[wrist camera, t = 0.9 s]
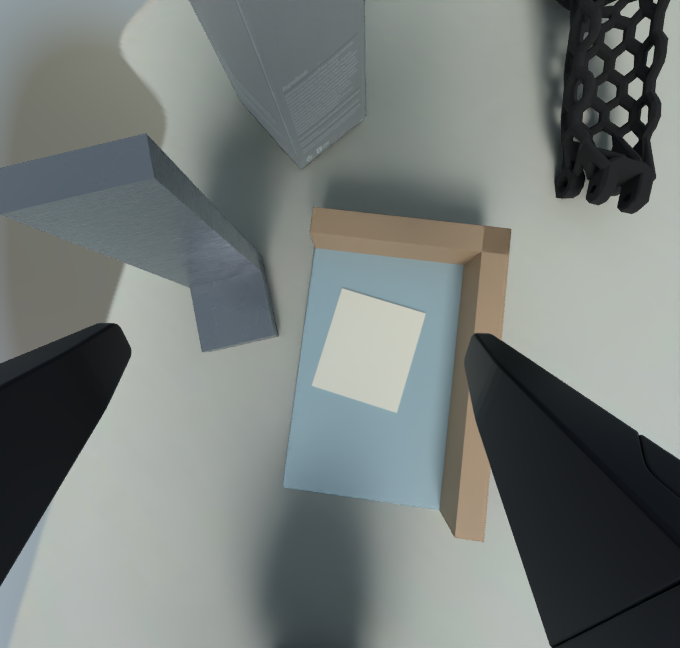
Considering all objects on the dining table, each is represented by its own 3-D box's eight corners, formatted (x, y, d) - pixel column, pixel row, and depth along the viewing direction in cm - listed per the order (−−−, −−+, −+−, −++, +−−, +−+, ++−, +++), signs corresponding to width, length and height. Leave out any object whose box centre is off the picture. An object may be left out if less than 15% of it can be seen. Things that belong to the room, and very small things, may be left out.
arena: (460, 509, 21) (483, 542, 17) (284, 483, 21) (271, 510, 18) (485, 248, 22) (511, 228, 19) (318, 229, 23) (313, 206, 19)
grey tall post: (278, 336, 22) (179, 318, 9) (209, 351, 22) (18, 355, 9) (261, 255, 23) (146, 133, 10) (194, 271, 23) (-7, 169, 10)
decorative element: (519, -45, 24) (571, -169, 19) (585, -51, 24) (659, -179, 18) (549, 235, 23) (619, 195, 17) (621, 230, 23) (717, 188, 17)
